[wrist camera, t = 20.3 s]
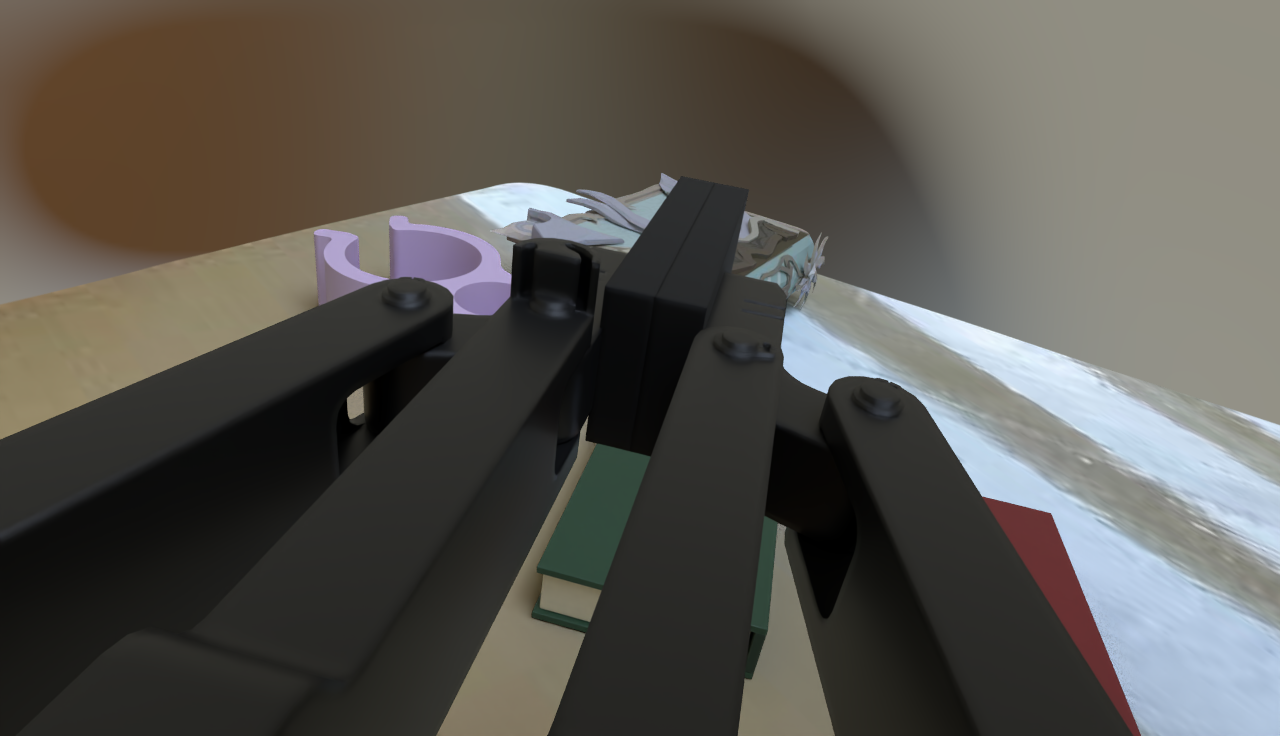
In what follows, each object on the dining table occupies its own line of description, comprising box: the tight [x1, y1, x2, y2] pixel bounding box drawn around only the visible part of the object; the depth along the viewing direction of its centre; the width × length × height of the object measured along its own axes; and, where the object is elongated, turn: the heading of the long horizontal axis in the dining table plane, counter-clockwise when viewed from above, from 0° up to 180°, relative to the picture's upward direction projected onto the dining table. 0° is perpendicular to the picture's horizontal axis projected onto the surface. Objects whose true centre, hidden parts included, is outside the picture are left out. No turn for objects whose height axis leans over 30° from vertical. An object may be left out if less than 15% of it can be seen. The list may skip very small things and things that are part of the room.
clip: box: [314, 216, 511, 315], centre depth 57 cm, size 20×12×7 cm, turn 51°
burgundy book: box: [983, 497, 1141, 736], centre depth 41 cm, size 3×10×16 cm
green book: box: [532, 444, 778, 679], centre depth 43 cm, size 3×11×17 cm
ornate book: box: [489, 173, 828, 310], centre depth 70 cm, size 23×10×30 cm
